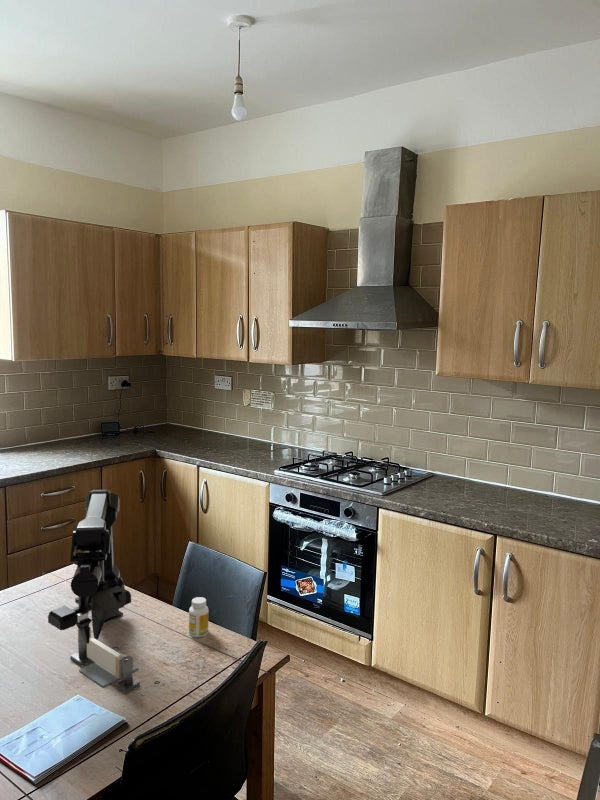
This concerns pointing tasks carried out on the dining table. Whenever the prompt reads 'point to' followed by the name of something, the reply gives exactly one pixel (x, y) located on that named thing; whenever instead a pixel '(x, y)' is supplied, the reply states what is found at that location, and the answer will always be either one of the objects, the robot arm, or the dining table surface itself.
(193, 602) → the supplement bottle
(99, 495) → the robot arm
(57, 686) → the dining table surface
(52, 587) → the dining table surface
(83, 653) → the gate posts
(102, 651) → the gate
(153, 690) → the dining table surface
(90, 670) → the doorway mat
